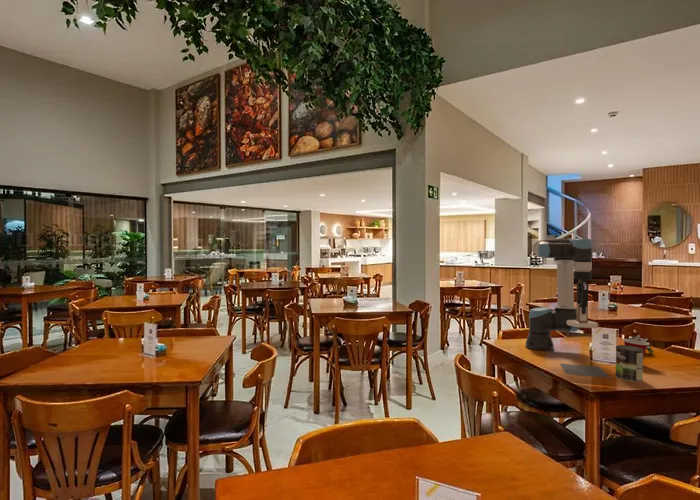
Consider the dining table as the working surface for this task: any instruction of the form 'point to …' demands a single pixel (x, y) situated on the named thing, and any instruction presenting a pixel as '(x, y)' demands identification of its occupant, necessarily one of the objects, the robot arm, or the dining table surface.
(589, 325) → the lid
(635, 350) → the coffee can
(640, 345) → the plastic cup
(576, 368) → the mat
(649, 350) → the passion flower
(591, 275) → the robot arm
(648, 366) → the dining table surface
